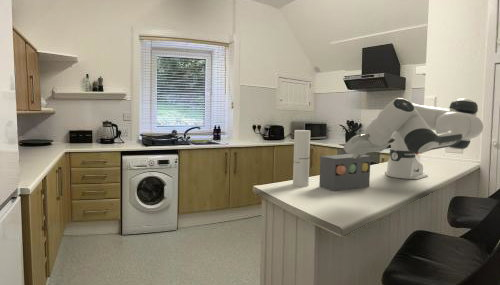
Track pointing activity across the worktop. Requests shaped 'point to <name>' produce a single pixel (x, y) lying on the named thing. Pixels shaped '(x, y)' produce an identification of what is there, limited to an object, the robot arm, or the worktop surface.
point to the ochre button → (364, 167)
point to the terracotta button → (340, 170)
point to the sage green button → (352, 168)
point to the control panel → (348, 179)
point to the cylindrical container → (301, 158)
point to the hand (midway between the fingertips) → (355, 157)
